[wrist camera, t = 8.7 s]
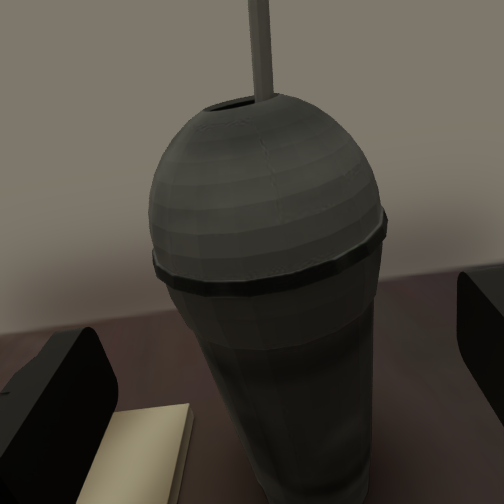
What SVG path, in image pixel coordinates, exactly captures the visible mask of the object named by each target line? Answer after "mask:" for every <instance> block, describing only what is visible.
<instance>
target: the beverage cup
mask: <svg viewBox="0 0 504 504" xmlns="http://www.w3.org/2000/svg"><path fill="white" fill-rule="evenodd" d="M248 8H249V24H250V38H251V52H252V66H253V81H254V96H249V97H244V98H238V99H234V100H230V101H226V102H222V103H219V104H216V105H212V106H210V107H207V108H205V109H203V110H202V111H201V112H199V113H198V114H197V115H195V116H194V117H193V118H192V119H190V120H189V121H188V122H187V123H186V124H185V125H184V127H183V128H182V129H181V130H180V131H179V132H178V133H177V134H176V136H175V137H174V138H173V139H172V141H171V143H170V144H169V146H168V147H167V149H166V150H165V152H164V154H163V155H162V157H161V160H160V162H159V164H158V167H157V169H156V172H155V174H154V178H153V182H152V186H151V191H150V197H149V211H148V215H149V227H150V234H151V238H152V242H153V246H154V248H153V250H152V256H153V265H154V268H155V272H156V276H157V278H159V279H160V280H161V281H163V282H164V283H166V285H167V288H168V291H169V294H170V297H171V299H172V301H173V302H174V304H175V306H176V307H177V309H178V311H179V313H180V314H181V316H182V318H183V319H184V321H185V323H186V324H187V326H188V327H189V328H190V329H192V330H193V331H194V333H195V335H196V338H197V340H198V342H199V345H200V347H201V349H202V352H203V354H204V356H205V359H206V361H207V363H208V366H209V368H210V370H211V373H212V375H213V378H214V380H215V382H216V385H217V387H218V389H219V392H220V394H221V396H222V399H223V401H224V403H225V406H226V408H227V410H228V413H229V415H230V417H231V420H232V422H233V424H234V427H235V429H236V432H237V434H238V436H239V439H240V441H241V443H242V446H243V448H244V450H245V453H246V455H247V457H248V460H249V462H250V464H251V467H252V469H253V471H254V474H255V476H256V479H257V481H258V483H259V484H260V485H261V486H262V488H263V490H264V492H265V494H266V497H267V499H268V502H269V504H362V503H363V501H364V499H365V497H366V495H367V493H368V484H369V468H370V461H371V441H372V377H373V312H374V297H375V295H376V290H377V283H378V277H379V270H380V263H381V254H382V241H383V240H384V239H385V237H386V233H387V223H388V219H387V216H386V213H385V211H384V208H383V207H382V206H381V203H380V197H379V191H378V186H377V184H376V180H375V177H374V174H373V171H372V169H371V167H370V165H369V163H368V161H367V159H366V157H365V155H364V153H363V151H362V150H361V149H360V147H359V146H358V145H357V143H356V142H355V141H354V140H353V138H352V137H351V135H350V134H349V133H347V131H346V130H345V129H344V128H343V127H342V126H340V125H339V124H338V123H337V122H336V121H335V120H334V119H333V118H332V117H331V116H329V115H328V114H326V113H325V112H323V111H322V110H320V109H319V108H318V107H316V106H314V105H312V104H310V103H308V102H305V101H303V100H301V99H299V98H295V97H291V96H287V95H283V94H279V93H274V91H273V72H272V54H271V37H270V36H271V35H270V16H269V0H248Z"/></svg>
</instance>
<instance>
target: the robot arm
mask: <svg viewBox="0 0 504 504" xmlns="http://www.w3.org/2000/svg"><path fill="white" fill-rule="evenodd" d="M457 341H458V346H459V350H460V353H461V356H462V358H463V360H464V362H465V364H466V366H467V367H468V369H469V371H470V372H471V374H472V376H473V377H474V379H475V381H476V382H477V384H478V385H479V387H480V389H481V390H482V392H483V394H484V395H485V397H486V398H487V400H488V402H489V403H490V405H491V407H492V408H493V410H494V412H495V413H496V415H497V416H498V418H499V420H500V421H501V423H502V425H503V426H504V268H503V267H500V266H498V267H491V268H484V269H478V270H471V271H464V272H461V273H460V274H459V276H458V280H457ZM117 401H118V383H117V379H116V376H115V374H114V372H113V369H112V367H111V365H110V362H109V360H108V358H107V356H106V353H105V351H104V349H103V346H102V344H101V342H100V340H99V337H98V335H97V333H96V332H95V330H94V329H92V328H91V327H84V328H77V329H71V330H64V331H58V332H55V333H54V334H53V335H52V336H51V337H50V339H49V340H48V341H47V343H46V344H45V345H44V347H43V348H42V350H41V351H40V352H39V354H38V355H37V356H36V357H34V358H33V359H32V360H31V361H30V362H28V363H27V364H26V365H25V366H24V367H22V368H21V369H20V370H19V371H18V372H16V373H15V374H14V375H13V377H12V378H11V379H10V381H9V382H8V383H7V385H6V386H5V387H4V389H3V390H2V391H1V393H0V504H76V502H77V500H78V497H79V495H80V492H81V490H82V488H83V485H84V483H85V480H86V478H87V475H88V473H89V471H90V468H91V466H92V463H93V461H94V459H95V456H96V454H97V451H98V449H99V447H100V444H101V442H102V439H103V437H104V434H105V432H106V430H107V427H108V425H109V422H110V420H111V418H112V415H113V413H114V410H115V408H116V405H117Z"/></svg>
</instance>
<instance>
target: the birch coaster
mask: <svg viewBox="0 0 504 504" xmlns="http://www.w3.org/2000/svg"><path fill="white" fill-rule="evenodd" d="M193 420H194V416H193V413H192V410H191V407H190V404H189V403H188V404H180V405H172V406H163V407H155V408H147V409H139V410H131V411H122V412H114V413H113V415H112V418H111V420H110V422H109V425H108V427H107V430H106V432H105V434H104V437H103V439H102V442H101V444H100V447H99V449H98V451H97V454H96V456H95V459H94V461H93V463H92V466H91V468H90V471H89V473H88V475H87V478H86V480H85V483H84V485H83V488H82V490H81V492H80V495H79V497H78V500H77V502H76V504H177V500H178V495H179V490H180V485H181V480H182V475H183V470H184V465H185V460H186V455H187V450H188V445H189V440H190V435H191V430H192V425H193Z"/></svg>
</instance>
